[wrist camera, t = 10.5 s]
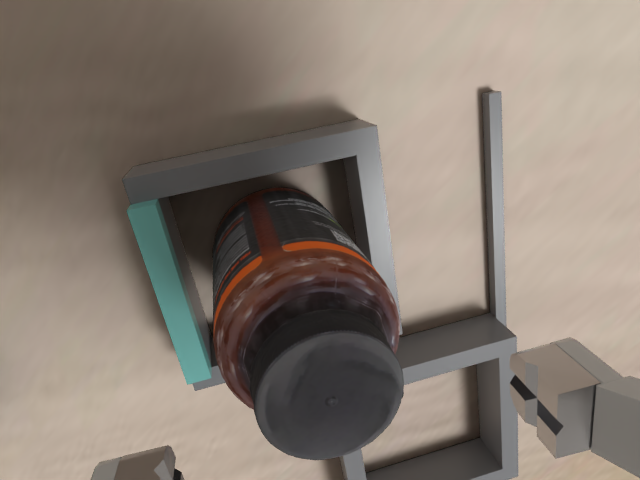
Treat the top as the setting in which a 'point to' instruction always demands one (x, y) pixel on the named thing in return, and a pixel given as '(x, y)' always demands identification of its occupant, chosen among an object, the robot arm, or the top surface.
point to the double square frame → (375, 243)
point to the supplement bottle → (304, 326)
